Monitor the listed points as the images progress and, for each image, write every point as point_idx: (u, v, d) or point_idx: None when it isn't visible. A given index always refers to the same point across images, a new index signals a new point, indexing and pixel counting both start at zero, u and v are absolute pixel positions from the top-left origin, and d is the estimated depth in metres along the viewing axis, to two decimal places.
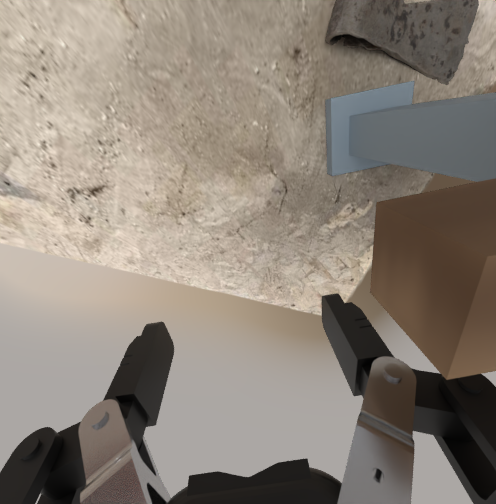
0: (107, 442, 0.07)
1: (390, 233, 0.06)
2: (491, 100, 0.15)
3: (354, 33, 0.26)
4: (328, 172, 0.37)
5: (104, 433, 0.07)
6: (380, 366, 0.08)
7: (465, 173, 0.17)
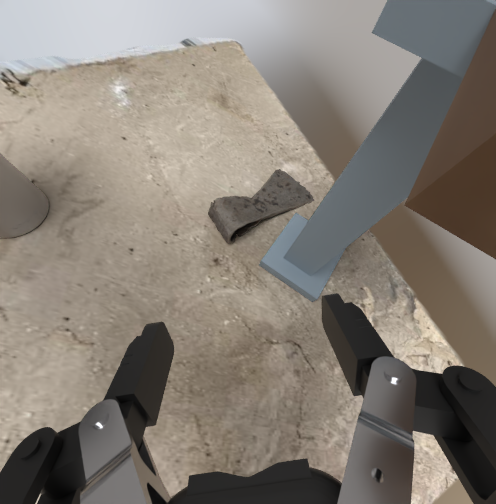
0: (107, 442, 0.07)
1: (479, 199, 0.03)
2: (347, 167, 0.19)
3: (240, 226, 0.35)
4: (311, 300, 0.36)
5: (104, 434, 0.07)
6: (380, 366, 0.08)
7: (394, 202, 0.19)
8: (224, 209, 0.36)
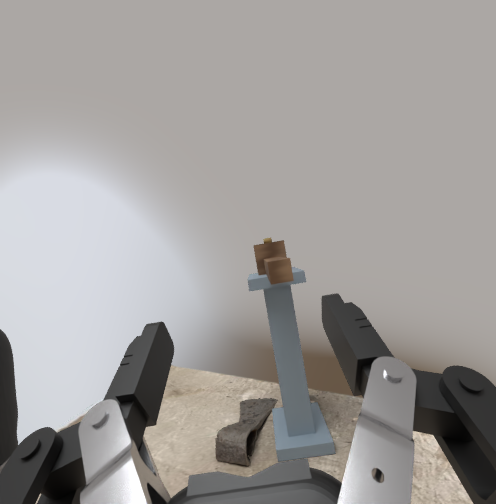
0: (107, 442, 0.07)
1: (274, 278, 0.31)
2: (271, 332, 0.44)
3: (247, 433, 0.43)
4: (333, 451, 0.41)
5: (103, 434, 0.07)
6: (380, 366, 0.08)
7: (296, 331, 0.44)
8: (229, 433, 0.44)
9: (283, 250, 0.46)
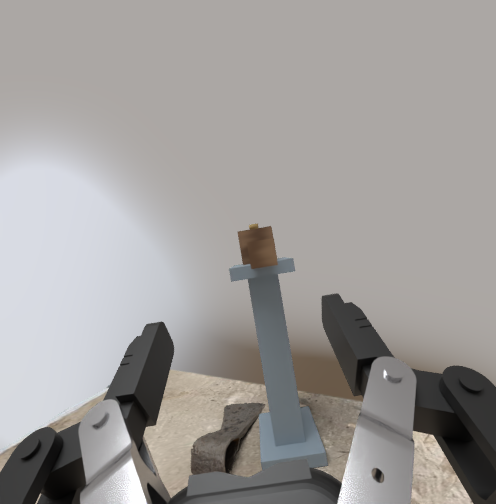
0: (107, 442, 0.07)
1: (255, 262, 0.26)
2: (256, 328, 0.39)
3: (226, 444, 0.38)
4: (325, 462, 0.36)
5: (104, 434, 0.07)
6: (380, 366, 0.08)
7: (284, 327, 0.39)
8: (206, 443, 0.38)
9: (270, 237, 0.42)
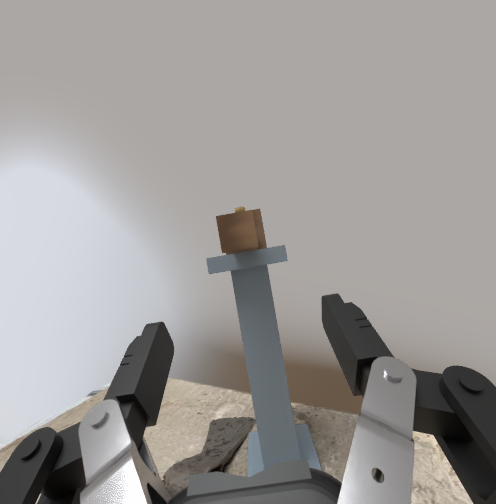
0: (107, 442, 0.07)
1: (227, 242, 0.19)
2: (241, 331, 0.32)
3: None
4: None
5: (103, 434, 0.07)
6: (380, 366, 0.08)
7: (275, 330, 0.32)
8: (179, 474, 0.31)
9: (259, 222, 0.35)
